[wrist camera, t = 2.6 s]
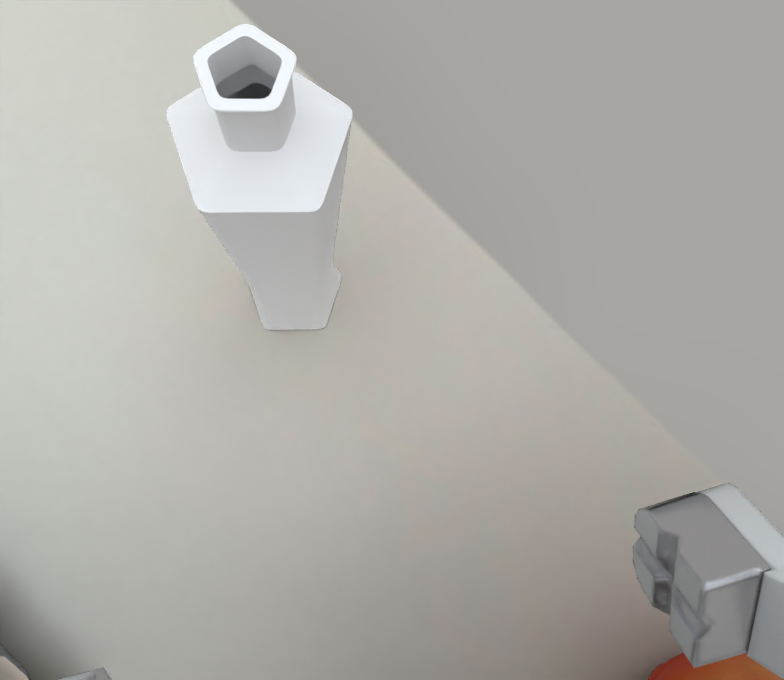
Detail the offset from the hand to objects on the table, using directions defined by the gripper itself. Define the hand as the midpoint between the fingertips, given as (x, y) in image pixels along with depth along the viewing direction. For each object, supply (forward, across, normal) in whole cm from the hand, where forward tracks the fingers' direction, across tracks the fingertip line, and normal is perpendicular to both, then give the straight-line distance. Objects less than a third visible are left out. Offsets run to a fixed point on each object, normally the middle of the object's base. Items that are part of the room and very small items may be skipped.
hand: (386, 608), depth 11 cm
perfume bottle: (+20, 0, +5) cm, 20 cm away
